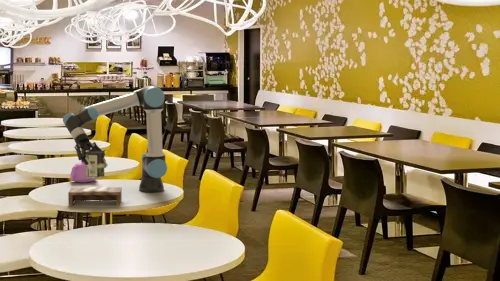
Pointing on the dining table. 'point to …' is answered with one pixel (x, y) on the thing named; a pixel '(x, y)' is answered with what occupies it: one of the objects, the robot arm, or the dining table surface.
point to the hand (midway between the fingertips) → (98, 167)
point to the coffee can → (95, 164)
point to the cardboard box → (95, 194)
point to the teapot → (80, 173)
